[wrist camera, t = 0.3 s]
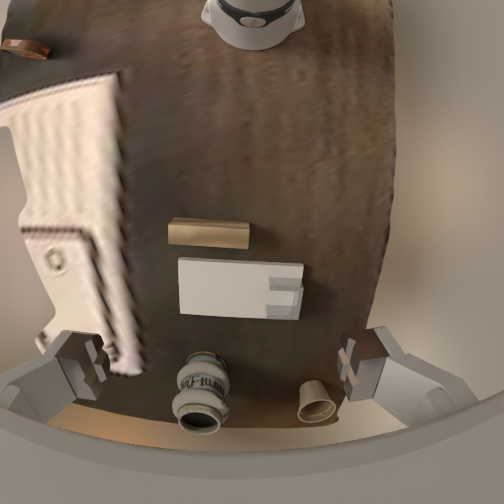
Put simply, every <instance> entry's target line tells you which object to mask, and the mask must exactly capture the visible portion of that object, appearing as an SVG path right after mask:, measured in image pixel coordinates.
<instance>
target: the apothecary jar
mask: <svg viewBox="0 0 504 504" xmlns="http://www.w3.org/2000/svg"><path fill="white" fill-rule="evenodd" d="M177 383H178V387H179V389H180V390H181V392H180V393H179V394H178V395H177V396H176V397H175V398H174V400H173V403H172V409H173V413H174V415H175V416H176V417H177V419H178V423H179V425H180V426H181V427H182V428H183V429H184V430H186V431H187V432H190V433H193V434H198V435H207V434H211V433H214V432H216V431H217V430H218V429H219V427H220V425H221V424H223V423H224V422H225V421H226V420H227V418H228V416H229V407H228V404H227V403H226V401H225V400H224V396H225V395H226V394H227V393H228V391H229V389H230V379H229V377H228V375H227V373H226V364H225V362H224V361H223V359H221V358H218V357H217V356H216V354H213V353H210V352H197V353H194V354H192V355H190V356H189V357H188V359H187V361H186V366H184V367H183V368H182V369H181V370H180V372H179V374H178V376H177Z"/></svg>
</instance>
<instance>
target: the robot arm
mask: <svg viewBox="0 0 504 504" xmlns="http://www.w3.org/2000/svg"><path fill="white" fill-rule="evenodd" d="M208 11H209V13H208ZM298 17H299V19H298ZM201 19H202V21H203V22H205V23H206V24H208V25H210V26H212V27H213V28H214V29H215V30H216V32H217V33H218V35H219V36H220V37H221V38H222V39H223V40H224V41H225V42H227V43H228V44H230V45H232V46H234V47H237V48H240V49H245V50H263V49H267V48H270V47H273V46H275V45H277V44H279V43H280V42H282V41H283V40H284V39H285V38H286V37H287V36H288V35H289V34H290V33H291V32H294V31H296V30H299V29H301V28H303V27H304V25H305V19H304V14H303V9H302V5H301V0H207V2H206V4H205V7H204V9H203V12H202V14H201ZM340 343H341V345H342V347H343V348H342V349H341V350H340V351H339V352H338V357H337V369H338V374H339V377H340V379H342V380H343V381H345V384H344V390H345V393H346V395H347V398H348V401H349V402H352V401H359V400H365V399H372V398H373V400H374V401H375V402H377V403H378V404H379V405H380V406H382V407H383V408H384V409H386V410H387V411H388V412H389V413H390V414H392V415H393V416H394V417H396V418H397V419H398V420H400V421H401V422H402V423H403V424H405V425H406V426H407V427H408V428H404V429H400V430H397V431H393V432H389V433H385V434H381V435H377V436H372V437H367V438H363V439H358V440H353V441H347V442H342V443H336V444H330V445H322V446H316V447H307V448H299V449H288V450H274V451H254V452H210V451H209V452H208V451H190V450H177V449H166V448H156V447H149V446H142V445H135V444H129V443H123V442H117V441H112V440H107V439H102V438H98V437H93V436H89V435H85V434H81V433H77V432H72V431H69V430H66V429H62V428H59V427H55V426H52V425H49V424H46V423H47V422H48V421H49V420H51V419H52V418H53V417H54V416H55V415H57V414H58V413H59V412H60V411H62V410H63V409H64V408H65V407H67V406H68V405H69V404H70V403H72V402H73V401H74V400H75V399H76V397H78V398H84V399H91V400H97V398H98V396H99V394H100V392H101V390H102V388H103V387H102V384H101V382H103V381H104V380H106V379H107V377H108V375H109V372H110V360H109V357H108V354H107V353H106V352H105V351H104V350H103V349H102V347H103V345H104V342H103V340H102V337H101V336H100V335H99V334H96V333H87V332H79V331H69V330H64V331H61V333H60V334H59V335H58V336H57V338H56V339H55V340H54V341H53V343H52V344H51V345H50V346H49V348H48V349H47V350H46V352H45V353H44V354H43V355H38V356H36V357H34V358H32V359H30V360H28V361H26V362H24V363H22V364H20V365H18V366H16V367H14V368H12V369H10V370H8V371H6V372H4V373H2V374H0V504H504V390H503V391H501V392H499V393H497V394H495V395H493V396H491V397H488V398H486V399H484V400H482V401H479V400H478V399H477V398H476V396H475V395H474V393H473V392H472V391H471V390H470V388H469V387H468V385H467V384H466V382H465V381H464V380H463V379H462V378H459V377H457V376H455V375H453V374H451V373H449V372H447V371H444V370H442V369H440V368H438V367H436V366H434V365H432V364H430V363H428V362H426V361H424V360H422V359H420V358H417V357H416V356H413V355H411V354H409V353H408V354H405V353H404V352H403V350H402V349H401V347H400V346H399V344H398V343H397V341H396V340H395V339H394V337H393V336H392V334H391V333H390V332H389V330H388V329H387V327H385V326H382V327H375V328H371V329H364V330H355V331H346V332H343V333H342V335H341V340H340Z"/></svg>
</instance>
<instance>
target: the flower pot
mask: <svg viewBox="0 0 504 504" xmlns="http://www.w3.org/2000/svg"><path fill="white" fill-rule="evenodd" d="M335 409H336V405H335V403H334V402H333V401H332V400H331V399H330V398H329V396H328V394H327V392H326V390H325V388H324V386H323V384H322V383H321V382H320V381H317V380H312V381H307V382H305V383H304V384H302V385H301V387H300V407H299V411H298V417H299V419H300V420H302V421H304V422H310V423H313V422H319V421H322V420H325V419H327V418H328V417H330V416H331V415H332V414H333V413H334V411H335Z"/></svg>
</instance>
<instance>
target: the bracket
mask: <svg viewBox="0 0 504 504" xmlns="http://www.w3.org/2000/svg"><path fill="white" fill-rule="evenodd" d="M303 268H304V266H303V264H298V263H278V262H259V261H240V260H222V259H205V258H187V257H179V259H178V271H179V298H180V313H182V314H195V315H209V316H225V317H245V318H267V319H292V320H298V319H299V313H300V307H301V301H302V295H303V289H304V287H303V285H302V282H301V281H302V275H303Z"/></svg>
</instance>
